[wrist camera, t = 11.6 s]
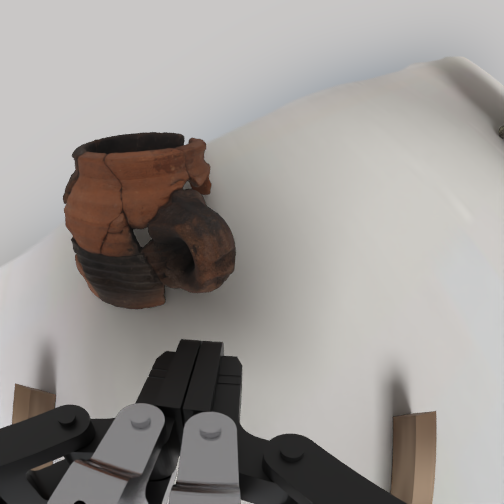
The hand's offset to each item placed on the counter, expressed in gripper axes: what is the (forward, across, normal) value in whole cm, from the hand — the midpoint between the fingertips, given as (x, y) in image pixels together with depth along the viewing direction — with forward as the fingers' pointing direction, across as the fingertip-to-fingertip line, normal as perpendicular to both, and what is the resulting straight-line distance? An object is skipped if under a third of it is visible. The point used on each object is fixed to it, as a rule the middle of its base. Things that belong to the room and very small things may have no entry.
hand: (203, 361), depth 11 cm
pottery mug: (+9, +4, -2) cm, 10 cm away
